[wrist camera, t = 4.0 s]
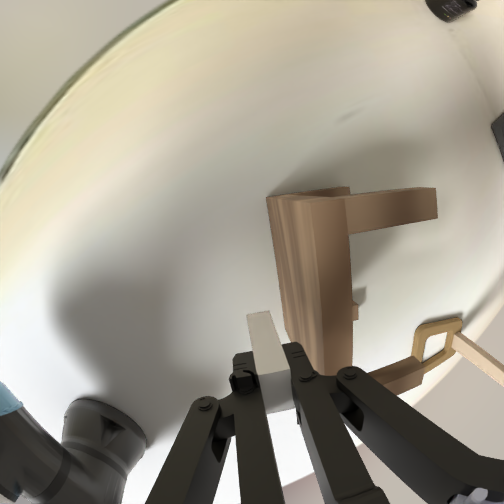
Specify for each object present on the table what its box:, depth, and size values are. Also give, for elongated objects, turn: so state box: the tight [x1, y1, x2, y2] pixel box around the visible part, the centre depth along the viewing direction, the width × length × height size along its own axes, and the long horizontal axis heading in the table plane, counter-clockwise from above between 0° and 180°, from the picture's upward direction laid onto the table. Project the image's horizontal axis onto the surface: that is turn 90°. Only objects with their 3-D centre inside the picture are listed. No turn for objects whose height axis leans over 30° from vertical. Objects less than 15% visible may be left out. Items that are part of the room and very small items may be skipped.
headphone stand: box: [411, 317, 504, 387], centre depth 26 cm, size 10×11×22 cm
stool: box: [266, 187, 438, 396], centre depth 24 cm, size 9×16×16 cm, turn 9°
